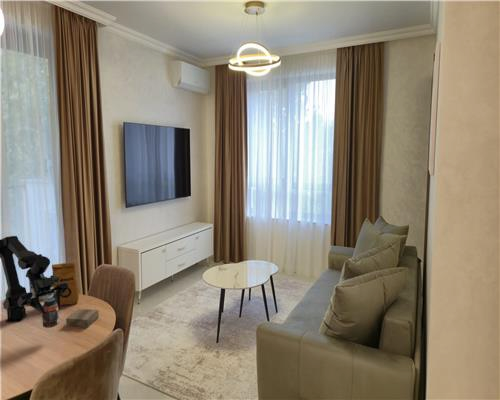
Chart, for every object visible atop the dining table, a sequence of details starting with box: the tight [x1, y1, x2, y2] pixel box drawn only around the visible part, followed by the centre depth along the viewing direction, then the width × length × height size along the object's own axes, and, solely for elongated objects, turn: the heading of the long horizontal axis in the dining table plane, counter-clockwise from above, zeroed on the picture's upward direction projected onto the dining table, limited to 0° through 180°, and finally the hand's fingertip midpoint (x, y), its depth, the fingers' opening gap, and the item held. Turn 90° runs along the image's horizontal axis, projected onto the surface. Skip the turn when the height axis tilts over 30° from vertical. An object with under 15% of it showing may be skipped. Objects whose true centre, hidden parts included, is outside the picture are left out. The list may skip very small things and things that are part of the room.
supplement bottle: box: [41, 297, 60, 329], centre depth 145 cm, size 6×6×11 cm
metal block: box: [65, 308, 100, 329], centre depth 162 cm, size 10×10×4 cm
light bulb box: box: [28, 276, 53, 300], centre depth 190 cm, size 11×7×11 cm, turn 84°
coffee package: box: [51, 261, 80, 306], centre depth 182 cm, size 10×12×22 cm
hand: (51, 311), depth 144 cm, fingers closed on supplement bottle, 6 cm apart
